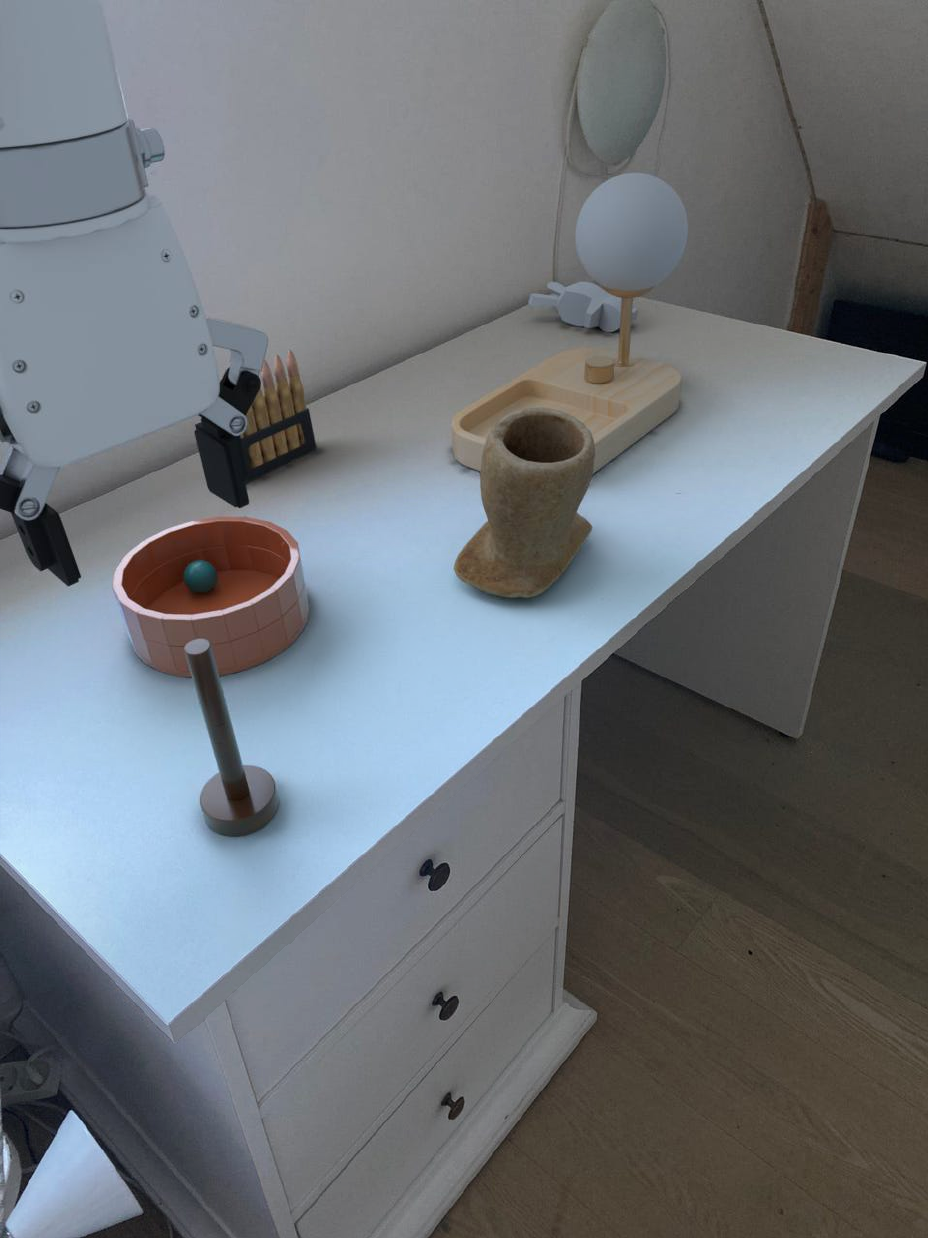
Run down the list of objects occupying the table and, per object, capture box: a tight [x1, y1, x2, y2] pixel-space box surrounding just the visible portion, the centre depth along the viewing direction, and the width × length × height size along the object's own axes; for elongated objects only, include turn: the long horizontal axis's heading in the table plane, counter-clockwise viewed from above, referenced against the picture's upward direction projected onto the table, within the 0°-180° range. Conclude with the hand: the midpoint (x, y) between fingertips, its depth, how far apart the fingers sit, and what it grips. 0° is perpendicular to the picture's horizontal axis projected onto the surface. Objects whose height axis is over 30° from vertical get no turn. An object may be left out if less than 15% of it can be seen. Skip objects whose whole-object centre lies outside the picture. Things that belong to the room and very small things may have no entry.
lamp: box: [451, 172, 689, 475], centre depth 105 cm, size 33×17×25 cm, turn 142°
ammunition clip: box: [220, 349, 317, 484], centre depth 104 cm, size 11×2×12 cm, turn 137°
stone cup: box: [453, 407, 595, 599], centre depth 85 cm, size 15×12×15 cm
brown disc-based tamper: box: [184, 639, 280, 837], centre depth 62 cm, size 5×5×15 cm
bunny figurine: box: [527, 280, 639, 333], centre depth 137 cm, size 10×5×15 cm
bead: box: [183, 560, 218, 593], centre depth 86 cm, size 3×3×3 cm
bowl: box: [111, 516, 310, 678], centre depth 82 cm, size 16×16×6 cm
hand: (150, 534), depth 49 cm, fingers open, 9 cm apart
